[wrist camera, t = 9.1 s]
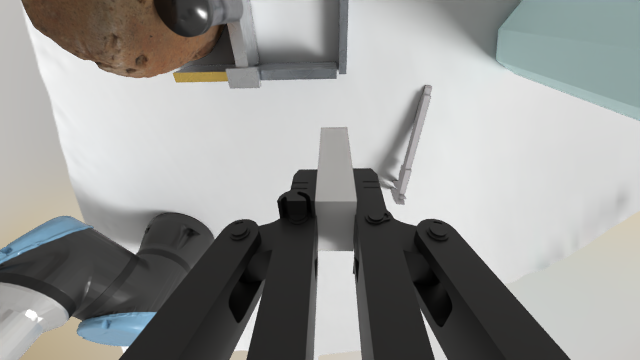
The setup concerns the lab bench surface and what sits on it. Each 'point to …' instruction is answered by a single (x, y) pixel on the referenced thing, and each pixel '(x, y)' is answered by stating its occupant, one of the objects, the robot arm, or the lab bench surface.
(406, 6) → the lab bench surface
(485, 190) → the lab bench surface
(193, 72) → the bay
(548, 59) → the water bottle
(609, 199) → the lab bench surface
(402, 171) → the caliper
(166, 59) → the brown stone
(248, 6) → the bar
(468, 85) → the lab bench surface
